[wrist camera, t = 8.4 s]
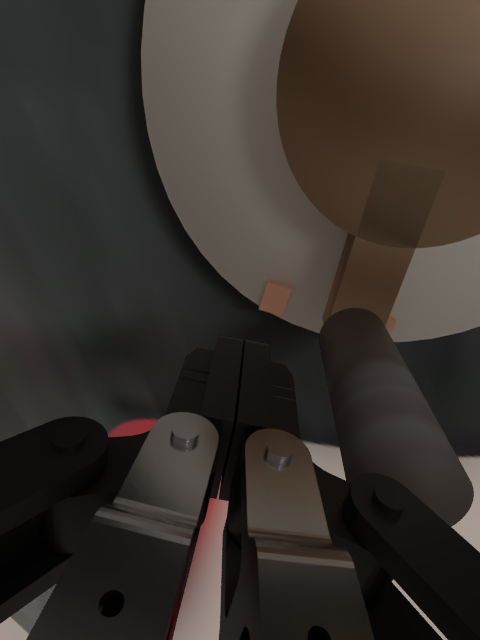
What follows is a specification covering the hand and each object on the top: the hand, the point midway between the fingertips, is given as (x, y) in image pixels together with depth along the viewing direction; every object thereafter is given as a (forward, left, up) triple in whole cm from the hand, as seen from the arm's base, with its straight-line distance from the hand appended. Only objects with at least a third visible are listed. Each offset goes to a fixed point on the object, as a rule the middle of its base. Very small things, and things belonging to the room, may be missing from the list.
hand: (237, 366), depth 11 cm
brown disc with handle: (-3, -6, -5) cm, 8 cm away
